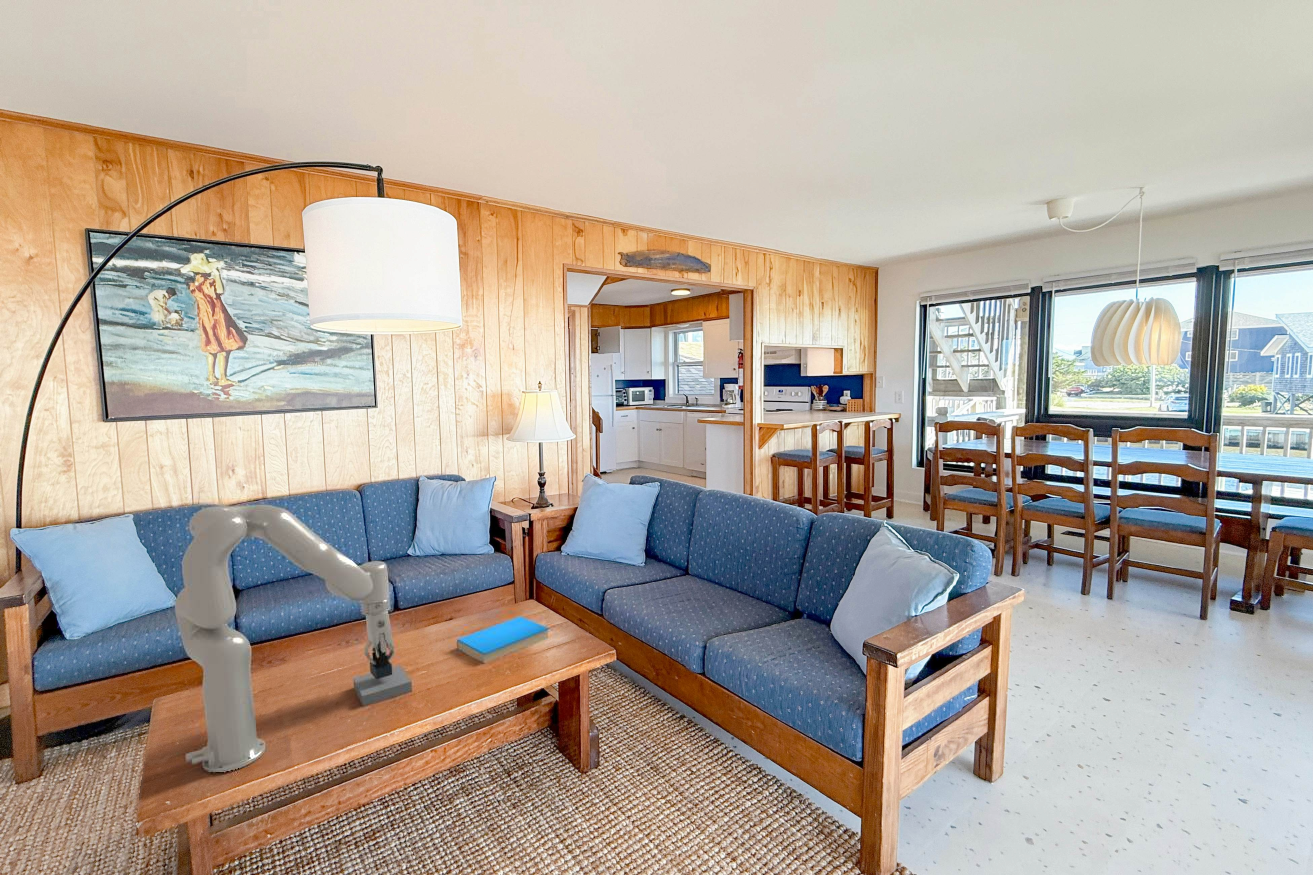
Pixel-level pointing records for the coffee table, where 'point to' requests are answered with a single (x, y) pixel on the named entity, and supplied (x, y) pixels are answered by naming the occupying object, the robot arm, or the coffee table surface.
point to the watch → (379, 671)
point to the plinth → (382, 686)
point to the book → (502, 639)
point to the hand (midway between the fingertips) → (380, 666)
